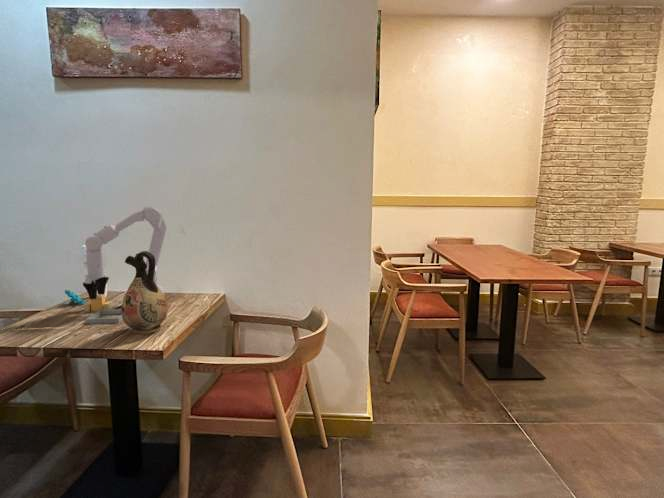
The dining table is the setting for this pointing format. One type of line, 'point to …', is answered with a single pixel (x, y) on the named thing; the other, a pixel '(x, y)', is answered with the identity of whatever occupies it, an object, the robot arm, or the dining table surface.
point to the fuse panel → (88, 311)
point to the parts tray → (94, 319)
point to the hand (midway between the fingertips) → (97, 296)
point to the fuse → (97, 303)
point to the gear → (74, 298)
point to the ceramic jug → (143, 297)
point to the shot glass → (105, 291)
